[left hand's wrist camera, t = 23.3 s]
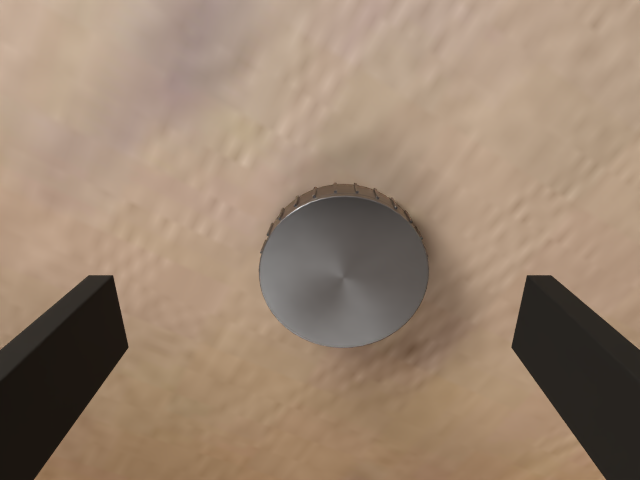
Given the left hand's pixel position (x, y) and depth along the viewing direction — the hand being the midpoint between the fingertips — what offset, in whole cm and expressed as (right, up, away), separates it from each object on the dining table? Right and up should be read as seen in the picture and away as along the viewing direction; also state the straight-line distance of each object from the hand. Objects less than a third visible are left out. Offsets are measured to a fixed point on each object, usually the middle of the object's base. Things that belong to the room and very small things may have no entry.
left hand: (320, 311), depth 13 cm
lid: (+1, +1, +3) cm, 3 cm away
